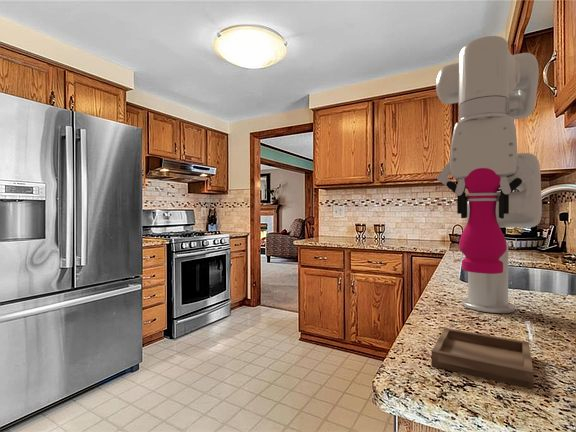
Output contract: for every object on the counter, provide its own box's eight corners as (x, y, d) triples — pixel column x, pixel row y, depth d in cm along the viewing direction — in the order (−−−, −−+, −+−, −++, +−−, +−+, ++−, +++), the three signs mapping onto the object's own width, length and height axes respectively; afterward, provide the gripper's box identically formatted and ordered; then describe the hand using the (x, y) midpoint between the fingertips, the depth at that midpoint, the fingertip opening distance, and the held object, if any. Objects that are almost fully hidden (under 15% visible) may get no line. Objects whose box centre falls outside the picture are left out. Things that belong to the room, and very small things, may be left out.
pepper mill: (507, 269, 60) (507, 157, 60) (505, 276, 54) (506, 151, 54) (461, 266, 64) (462, 160, 64) (456, 271, 58) (456, 155, 58)
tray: (444, 340, 69) (444, 327, 69) (528, 355, 61) (528, 342, 61) (431, 365, 57) (431, 351, 57) (533, 389, 50) (533, 372, 50)
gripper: (542, 111, 58) (541, 218, 58) (434, 125, 67) (434, 217, 67) (545, 98, 51) (545, 219, 51) (426, 116, 61) (426, 218, 61)
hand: (482, 217), depth 59 cm, fingers closed on pepper mill, 5 cm apart
